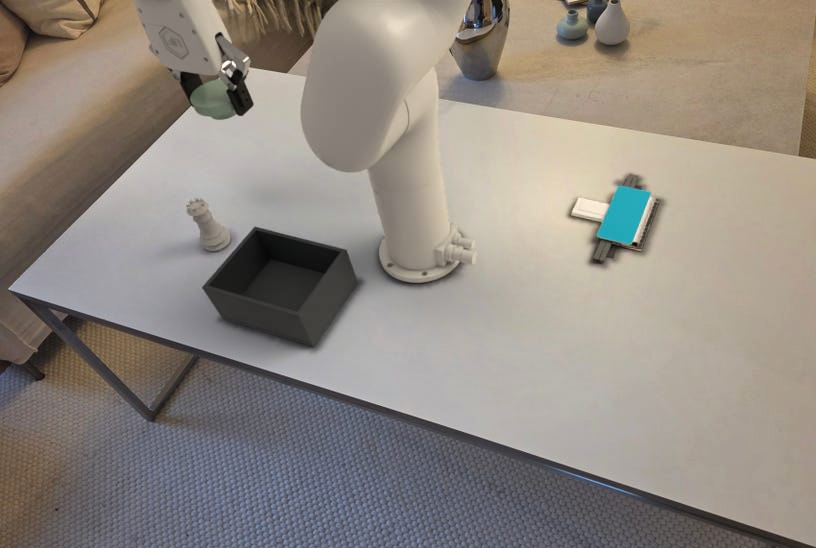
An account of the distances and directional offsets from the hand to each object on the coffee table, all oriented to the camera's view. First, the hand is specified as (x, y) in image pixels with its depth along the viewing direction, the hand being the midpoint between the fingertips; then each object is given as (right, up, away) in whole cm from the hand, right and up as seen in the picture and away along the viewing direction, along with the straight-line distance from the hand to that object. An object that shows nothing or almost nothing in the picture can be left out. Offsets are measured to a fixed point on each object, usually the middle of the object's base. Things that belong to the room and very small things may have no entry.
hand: (223, 105), depth 84 cm
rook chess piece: (-4, -19, +8) cm, 21 cm away
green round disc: (0, 0, +1) cm, 1 cm away
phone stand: (+57, -15, +6) cm, 60 cm away
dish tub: (+10, -28, 0) cm, 30 cm away
